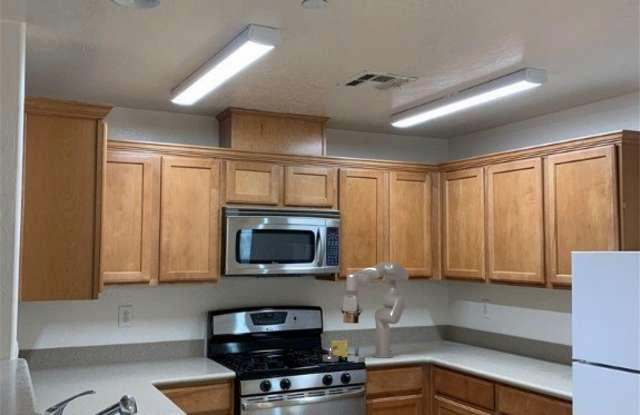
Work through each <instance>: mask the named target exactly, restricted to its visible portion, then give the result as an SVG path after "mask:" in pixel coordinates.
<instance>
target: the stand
mask: <svg viewBox="0 0 640 415" xmlns="http://www.w3.org/2000/svg"><path fill="white" fill-rule="evenodd" d="M351 361H354V362H353V363H358V362H359V363H363V362H366V356H365V355H359V346H358V345H357V346H356V345H355V346H354V354H351V355H348V357H347V362H351Z"/></svg>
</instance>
